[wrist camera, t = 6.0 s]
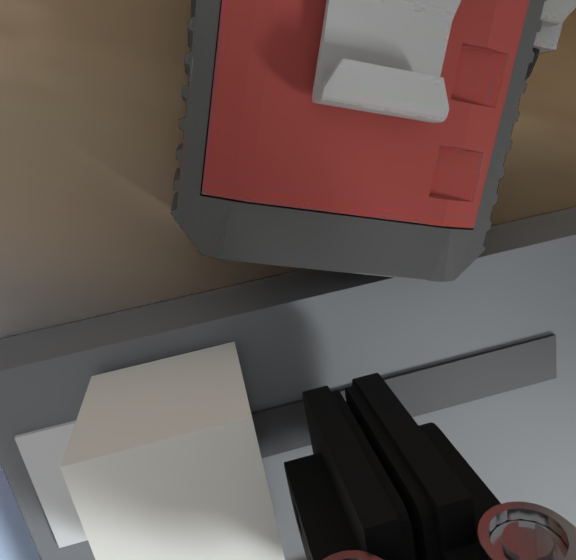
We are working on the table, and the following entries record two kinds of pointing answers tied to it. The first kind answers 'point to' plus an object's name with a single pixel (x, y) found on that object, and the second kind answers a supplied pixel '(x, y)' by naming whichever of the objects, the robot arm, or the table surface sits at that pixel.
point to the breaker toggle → (171, 463)
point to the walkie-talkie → (353, 129)
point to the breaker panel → (334, 370)
